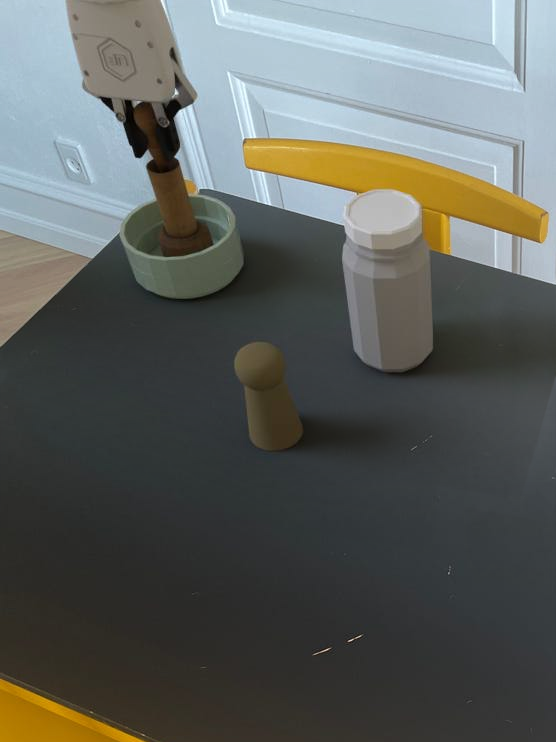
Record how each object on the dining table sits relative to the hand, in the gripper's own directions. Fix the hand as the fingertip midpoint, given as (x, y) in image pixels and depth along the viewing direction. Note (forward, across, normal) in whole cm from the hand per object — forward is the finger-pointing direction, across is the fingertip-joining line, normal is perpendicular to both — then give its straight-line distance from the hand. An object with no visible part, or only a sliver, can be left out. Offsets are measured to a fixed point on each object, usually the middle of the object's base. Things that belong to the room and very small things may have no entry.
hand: (157, 152), depth 105 cm
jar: (+14, +31, -12) cm, 36 cm away
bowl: (+14, 0, -1) cm, 15 cm away
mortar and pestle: (+13, 0, 0) cm, 13 cm away
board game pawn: (+15, +21, -28) cm, 38 cm away
